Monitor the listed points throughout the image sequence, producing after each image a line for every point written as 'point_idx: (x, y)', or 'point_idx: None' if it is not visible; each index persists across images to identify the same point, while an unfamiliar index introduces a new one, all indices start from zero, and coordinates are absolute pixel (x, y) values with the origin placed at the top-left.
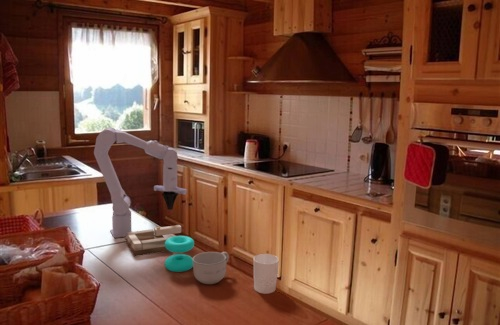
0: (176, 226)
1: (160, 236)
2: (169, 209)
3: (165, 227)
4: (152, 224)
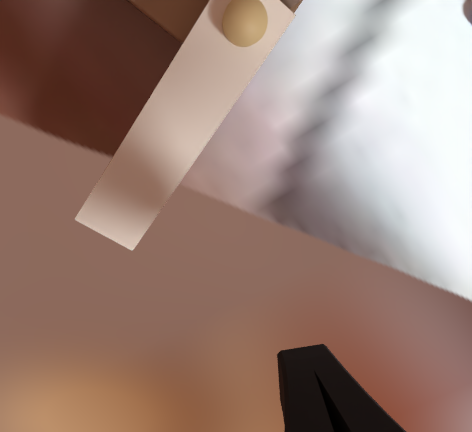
0: (123, 200)
1: (196, 18)
2: (293, 350)
3: (200, 111)
4: (444, 283)
